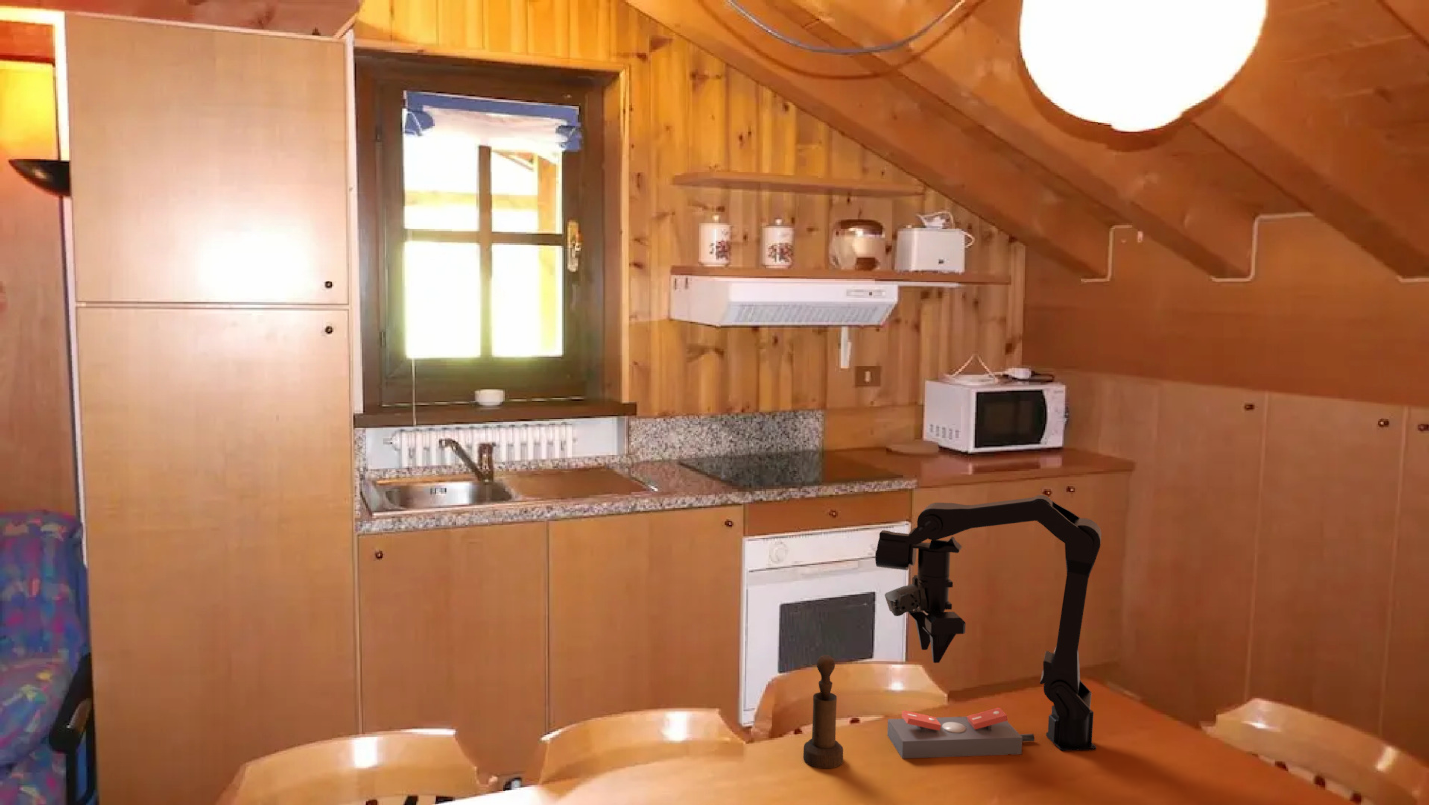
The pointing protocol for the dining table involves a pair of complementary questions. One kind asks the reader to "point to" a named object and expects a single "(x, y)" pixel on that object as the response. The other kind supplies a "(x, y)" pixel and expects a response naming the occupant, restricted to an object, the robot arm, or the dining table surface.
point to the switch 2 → (987, 718)
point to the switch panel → (955, 739)
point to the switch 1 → (921, 720)
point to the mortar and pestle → (824, 722)
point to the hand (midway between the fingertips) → (930, 656)
